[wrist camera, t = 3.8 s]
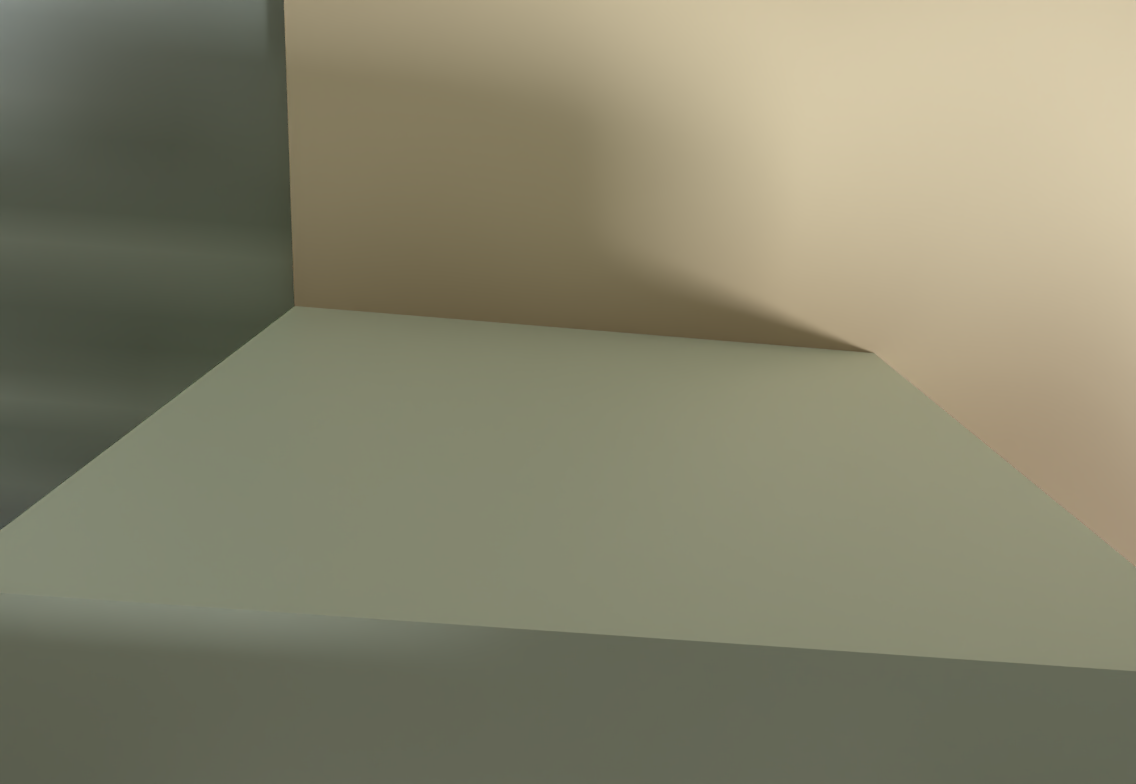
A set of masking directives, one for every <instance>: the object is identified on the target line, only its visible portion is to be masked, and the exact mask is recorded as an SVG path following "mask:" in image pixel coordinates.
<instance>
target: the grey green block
mask: <svg viewBox="0 0 1136 784" xmlns="http://www.w3.org/2000/svg"><path fill="white" fill-rule="evenodd" d="M0 784H1136V567H1135V566H1134V565H1133V564H1132V563H1130V562H1129V561H1128V560H1127V559H1125V558H1124V557H1123V556H1122V555H1120V554H1119V553H1118V552H1117V551H1116V550H1114V549H1113V548H1112V547H1111V546H1109V545H1108V544H1107V543H1106V542H1105V541H1103V540H1102V539H1101V538H1100V537H1098V536H1097V535H1096V534H1095V533H1094V532H1092V531H1091V530H1090V529H1089V528H1087V527H1086V526H1085V525H1084V524H1083V523H1081V522H1080V521H1079V520H1078V519H1076V518H1075V517H1074V516H1073V515H1072V514H1070V513H1069V512H1068V511H1067V510H1065V509H1064V508H1063V507H1062V506H1061V505H1059V504H1058V503H1057V502H1056V501H1054V500H1053V499H1052V498H1051V497H1050V496H1048V495H1047V494H1046V493H1045V492H1043V491H1042V490H1041V489H1040V488H1039V487H1037V486H1036V485H1035V484H1034V483H1032V482H1031V481H1030V480H1029V479H1027V478H1026V477H1025V476H1024V475H1023V474H1021V473H1020V472H1019V471H1018V470H1016V469H1015V468H1014V467H1013V466H1012V465H1010V464H1009V463H1008V462H1007V461H1005V460H1004V459H1003V458H1002V457H1001V456H999V455H998V454H997V453H996V452H994V451H993V450H992V449H991V448H990V447H988V446H987V445H986V444H985V443H983V442H982V441H981V440H980V439H979V438H977V437H976V436H975V435H974V434H972V433H971V432H970V431H969V430H968V429H966V428H965V427H964V426H963V425H961V424H960V423H959V422H958V421H957V420H955V419H954V418H953V417H952V416H950V415H949V414H948V413H947V412H946V411H944V410H943V409H942V408H941V407H939V406H938V405H937V404H936V403H934V402H933V401H932V400H931V399H930V398H928V397H927V396H926V395H925V394H923V393H922V392H921V391H920V390H919V389H917V388H916V387H915V386H914V385H912V384H911V383H910V382H909V381H908V380H906V379H905V378H904V377H903V376H901V375H900V374H899V373H898V372H897V371H895V370H894V369H893V368H892V367H890V366H889V365H888V364H887V363H886V362H884V361H883V360H882V359H881V358H879V357H878V356H877V355H876V354H875V353H868V352H856V351H844V350H831V349H819V348H807V347H794V346H782V345H770V344H758V343H745V342H733V341H721V340H708V339H696V338H684V337H671V336H659V335H647V334H634V333H622V332H610V331H598V330H585V329H573V328H561V327H548V326H536V325H524V324H511V323H499V322H487V321H474V320H462V319H450V318H437V317H425V316H413V315H401V314H388V313H376V312H364V311H351V310H339V309H327V308H314V307H302V306H294V307H293V308H292V309H291V310H289V311H288V312H287V313H285V314H284V315H283V316H281V317H280V318H279V319H277V320H276V321H275V322H273V323H272V324H271V325H269V326H268V327H267V328H266V329H264V330H263V331H262V332H260V333H259V334H258V335H256V336H255V337H254V338H252V339H251V340H250V341H248V342H247V343H246V344H245V345H243V346H242V347H241V348H239V349H238V350H237V351H235V352H234V353H233V354H231V355H230V356H229V357H227V358H226V359H225V360H223V361H222V362H221V363H220V364H218V365H217V366H216V367H214V368H213V369H212V370H210V371H209V372H208V373H206V374H205V375H204V376H202V377H201V378H200V379H198V380H197V381H196V382H195V383H193V384H192V385H191V386H189V387H188V388H187V389H185V390H184V391H183V392H181V393H180V394H179V395H177V396H176V397H175V398H174V399H172V400H171V401H170V402H168V403H167V404H166V405H164V406H163V407H162V408H160V409H159V410H158V411H156V412H155V413H154V414H152V415H151V416H150V417H149V418H147V419H146V420H145V421H143V422H142V423H141V424H139V425H138V426H137V427H135V428H134V429H133V430H131V431H130V432H129V433H127V434H126V435H125V436H124V437H122V438H121V439H120V440H118V441H117V442H116V443H114V444H113V445H112V446H110V447H109V448H108V449H106V450H105V451H104V452H103V453H101V454H100V455H99V456H97V457H96V458H95V459H93V460H92V461H91V462H89V463H88V464H87V465H85V466H84V467H83V468H81V469H80V470H79V471H78V472H76V473H75V474H74V475H72V476H71V477H70V478H68V479H67V480H66V481H64V482H63V483H62V484H60V485H59V486H58V487H56V488H55V489H54V490H53V491H51V492H50V493H49V494H47V495H46V496H45V497H43V498H42V499H41V500H39V501H38V502H37V503H35V504H34V505H33V506H31V507H30V508H29V509H28V510H26V511H25V512H24V513H22V514H21V515H20V516H18V517H17V518H16V519H14V520H13V521H12V522H10V523H9V524H8V525H7V526H5V527H4V528H3V529H1V530H0Z"/></svg>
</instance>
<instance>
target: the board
mask: <svg viewBox="0 0 1136 784" xmlns="http://www.w3.org/2000/svg"><path fill="white" fill-rule="evenodd" d="M284 20H285V49H286V79H287V108H288V137H289V167H290V196H291V226H292V255H293V284H294V306H302V307H314V308H327V309H339V310H351V311H364V312H376V313H388V314H401V315H413V316H425V317H437V318H450V319H462V320H474V321H487V322H499V323H511V324H524V325H536V326H548V327H561V328H573V329H585V330H598V331H610V332H622V333H634V334H647V335H659V336H671V337H684V338H696V339H708V340H721V341H733V342H745V343H758V344H770V345H782V346H794V347H807V348H819V349H831V350H844V351H856V352H868V353H875V354H876V355H877V356H878V357H879V358H881V359H882V360H883V361H884V362H886V363H887V364H888V365H889V366H890V367H892V368H893V369H894V370H895V371H897V372H898V373H899V374H900V375H901V376H903V377H904V378H905V379H906V380H908V381H909V382H910V383H911V384H912V385H914V386H915V387H916V388H917V389H919V390H920V391H921V392H922V393H923V394H925V395H926V396H927V397H928V398H930V399H931V400H932V401H933V402H934V403H936V404H937V405H938V406H939V407H941V408H942V409H943V410H944V411H946V412H947V413H948V414H949V415H950V416H952V417H953V418H954V419H955V420H957V421H958V422H959V423H960V424H961V425H963V426H964V427H965V428H966V429H968V430H969V431H970V432H971V433H972V434H974V435H975V436H976V437H977V438H979V439H980V440H981V441H982V442H983V443H985V444H986V445H987V446H988V447H990V448H991V449H992V450H993V451H994V452H996V453H997V454H998V455H999V456H1001V457H1002V458H1003V459H1004V460H1005V461H1007V462H1008V463H1009V464H1010V465H1012V466H1013V467H1014V468H1015V469H1016V470H1018V471H1019V472H1020V473H1021V474H1023V475H1024V476H1025V477H1026V478H1027V479H1029V480H1030V481H1031V482H1032V483H1034V484H1035V485H1036V486H1037V487H1039V488H1040V489H1041V490H1042V491H1043V492H1045V493H1046V494H1047V495H1048V496H1050V497H1051V498H1052V499H1053V500H1054V501H1056V502H1057V503H1058V504H1059V505H1061V506H1062V507H1063V508H1064V509H1065V510H1067V511H1068V512H1069V513H1070V514H1072V515H1073V516H1074V517H1075V518H1076V519H1078V520H1079V521H1080V522H1081V523H1083V524H1084V525H1085V526H1086V527H1087V528H1089V529H1090V530H1091V531H1092V532H1094V533H1095V534H1096V535H1097V536H1098V537H1100V538H1101V539H1102V540H1103V541H1105V542H1106V543H1107V544H1108V545H1109V546H1111V547H1112V548H1113V549H1114V550H1116V551H1117V552H1118V553H1119V554H1120V555H1122V556H1123V557H1124V558H1125V559H1127V560H1128V561H1129V562H1130V563H1132V564H1133V565H1134V566H1135V567H1136V0H284Z"/></svg>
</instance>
